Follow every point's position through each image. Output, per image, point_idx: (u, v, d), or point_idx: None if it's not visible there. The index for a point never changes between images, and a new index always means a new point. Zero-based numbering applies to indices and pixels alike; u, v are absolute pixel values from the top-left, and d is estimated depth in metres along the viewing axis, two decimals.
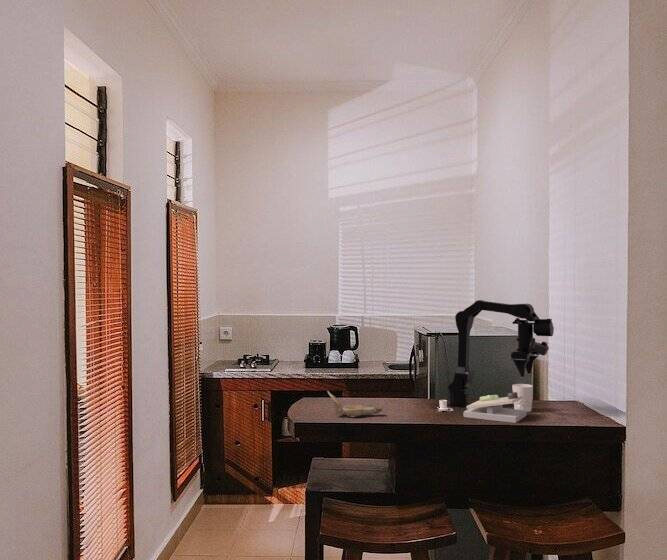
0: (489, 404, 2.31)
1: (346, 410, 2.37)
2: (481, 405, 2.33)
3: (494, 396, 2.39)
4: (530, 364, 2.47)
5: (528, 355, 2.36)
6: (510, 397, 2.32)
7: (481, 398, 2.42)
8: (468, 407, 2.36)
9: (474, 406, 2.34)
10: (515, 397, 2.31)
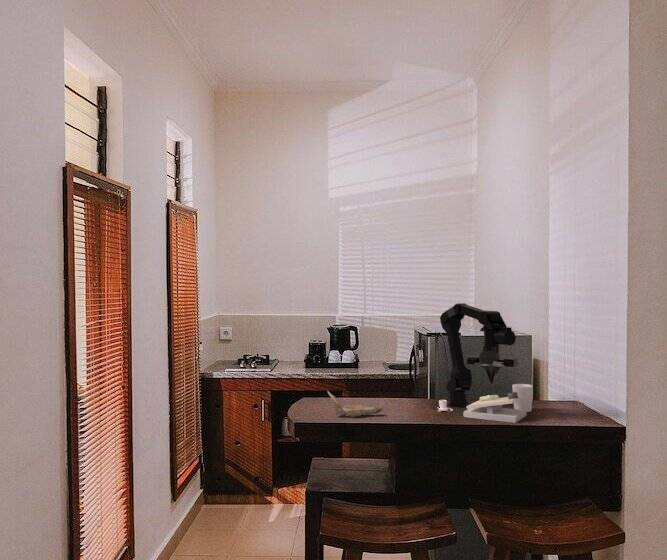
0: (489, 404, 2.31)
1: (346, 410, 2.37)
2: (481, 405, 2.33)
3: (494, 396, 2.39)
4: None
5: (471, 361, 2.42)
6: (510, 397, 2.32)
7: (481, 398, 2.42)
8: (468, 407, 2.36)
9: (474, 406, 2.34)
10: (515, 397, 2.31)
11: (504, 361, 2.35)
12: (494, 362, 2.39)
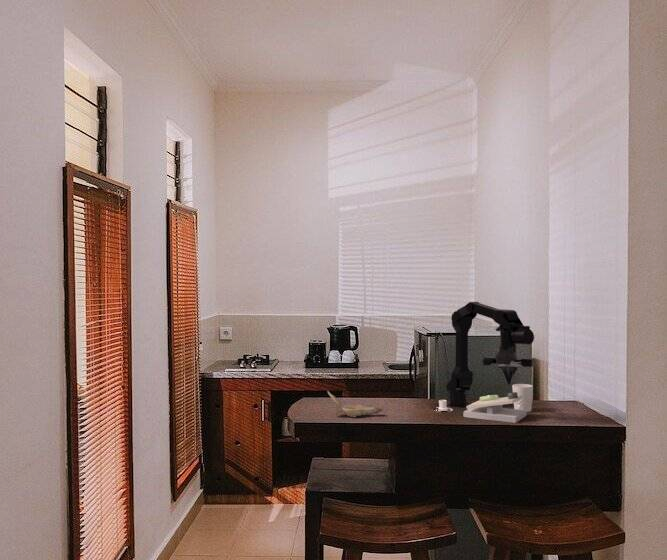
0: (489, 404, 2.31)
1: (346, 410, 2.37)
2: (481, 405, 2.33)
3: (494, 396, 2.39)
4: None
5: (488, 361, 2.35)
6: (510, 397, 2.32)
7: (481, 398, 2.42)
8: (468, 407, 2.36)
9: (474, 406, 2.34)
10: (515, 397, 2.31)
11: (522, 361, 2.28)
12: None
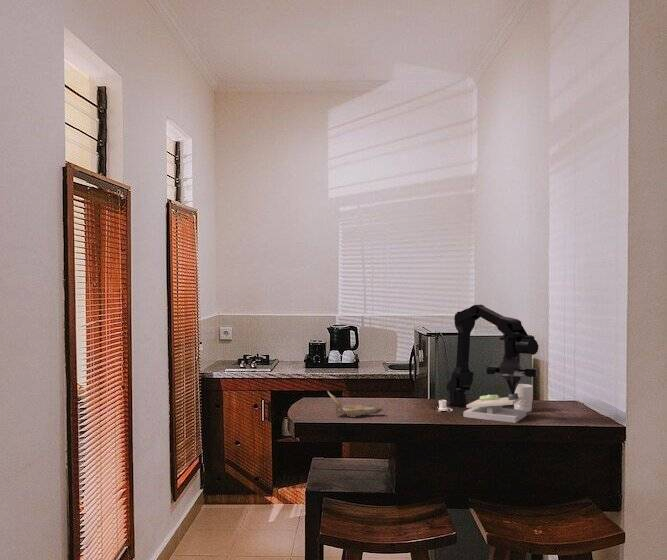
0: (489, 404, 2.31)
1: (346, 410, 2.37)
2: (481, 405, 2.33)
3: (494, 396, 2.39)
4: None
5: (491, 370, 2.34)
6: (510, 398, 2.32)
7: (481, 397, 2.42)
8: (468, 406, 2.36)
9: (474, 406, 2.35)
10: (515, 398, 2.31)
11: (526, 371, 2.27)
12: (515, 372, 2.32)
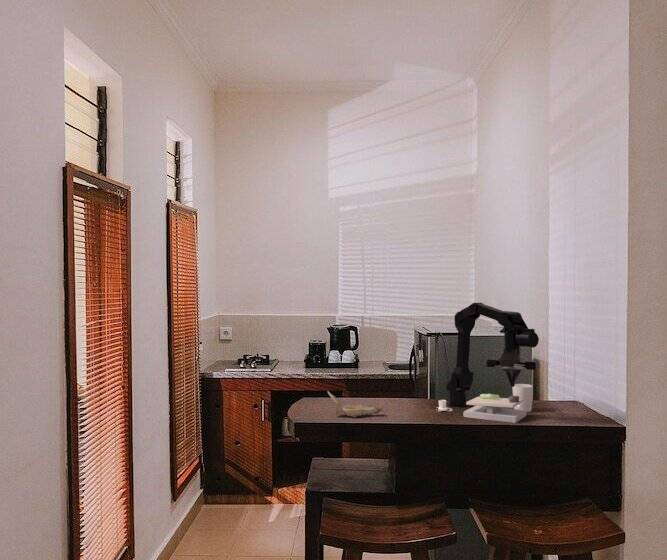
0: (489, 404, 2.31)
1: (346, 410, 2.37)
2: (481, 404, 2.33)
3: (495, 396, 2.39)
4: None
5: (491, 363, 2.34)
6: (511, 400, 2.31)
7: (482, 395, 2.42)
8: (468, 403, 2.36)
9: (474, 404, 2.35)
10: (516, 401, 2.31)
11: (526, 364, 2.27)
12: None
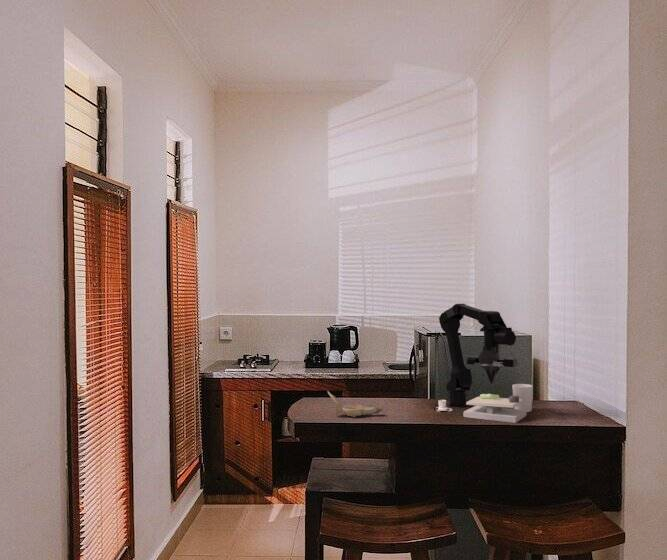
0: (489, 404, 2.31)
1: (346, 410, 2.37)
2: (481, 404, 2.33)
3: (495, 396, 2.39)
4: None
5: (471, 361, 2.43)
6: (511, 400, 2.31)
7: (482, 395, 2.42)
8: (468, 403, 2.36)
9: (474, 404, 2.35)
10: (516, 401, 2.31)
11: (504, 361, 2.35)
12: None
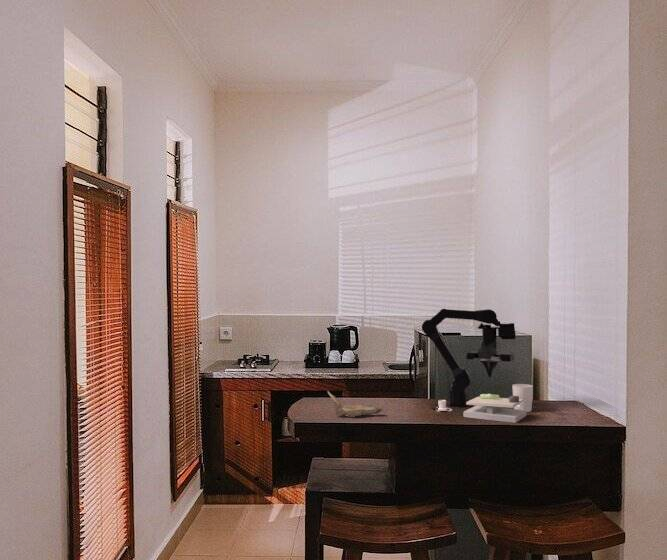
0: (489, 404, 2.31)
1: (346, 410, 2.37)
2: (481, 404, 2.33)
3: (495, 396, 2.39)
4: None
5: (470, 356, 2.58)
6: (511, 400, 2.31)
7: (482, 395, 2.42)
8: (468, 403, 2.36)
9: (474, 404, 2.35)
10: (516, 401, 2.31)
11: (501, 356, 2.51)
12: (492, 357, 2.55)
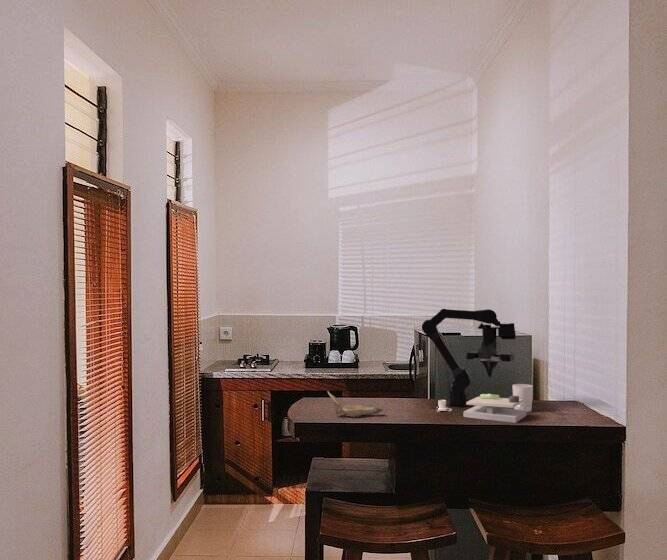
0: (489, 404, 2.31)
1: (346, 410, 2.37)
2: (481, 404, 2.33)
3: (495, 396, 2.39)
4: None
5: (470, 356, 2.58)
6: (511, 400, 2.31)
7: (482, 395, 2.42)
8: (468, 403, 2.36)
9: (474, 404, 2.35)
10: (516, 401, 2.31)
11: (501, 356, 2.51)
12: (492, 357, 2.55)
